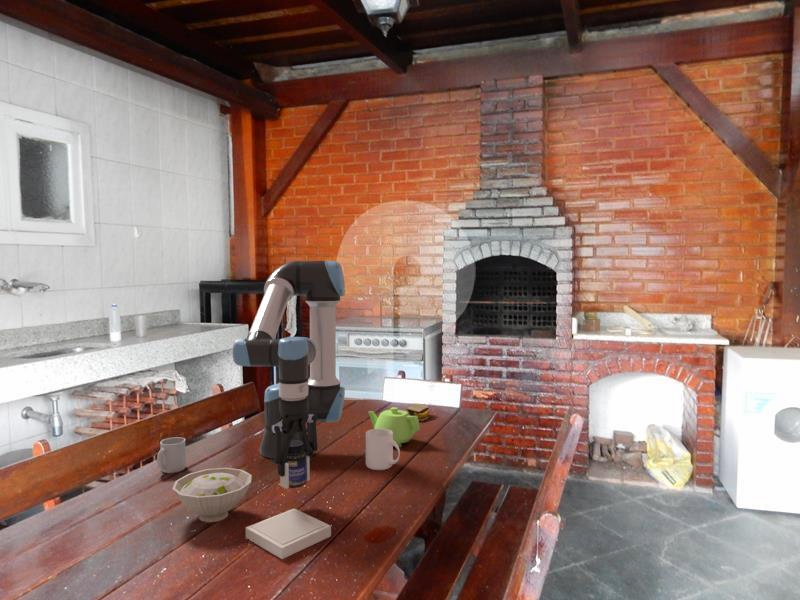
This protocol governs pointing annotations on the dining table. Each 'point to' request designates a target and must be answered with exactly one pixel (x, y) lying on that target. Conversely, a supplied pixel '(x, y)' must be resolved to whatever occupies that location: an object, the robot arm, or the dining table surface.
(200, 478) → the bowl
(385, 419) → the teapot
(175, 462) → the cup
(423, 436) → the dining table surface
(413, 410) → the toy sandwich meal
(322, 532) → the square plate
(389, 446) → the mug
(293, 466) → the pill bottle
